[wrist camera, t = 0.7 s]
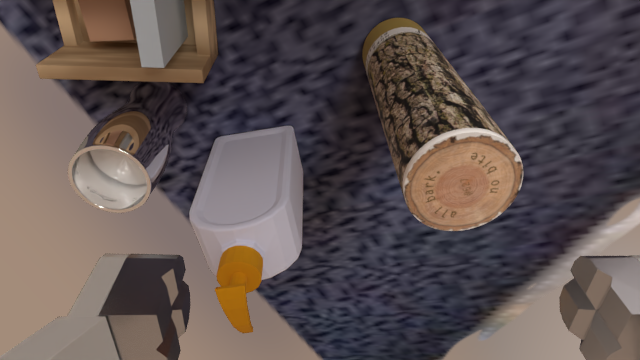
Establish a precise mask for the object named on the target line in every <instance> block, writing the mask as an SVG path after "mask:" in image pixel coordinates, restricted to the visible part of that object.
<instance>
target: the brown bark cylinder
mask: <svg viewBox="0 0 640 360" xmlns="http://www.w3.org/2000/svg"><path fill="white" fill-rule="evenodd" d="M362 56H363V62H364V66H365V69H366V73H367V77H368V80H369V83H370V86H371V90H372V93H373V96H374V100H375V103H376V106H377V110H378V113H379V116H380V120H381V123H382V126H383V130H384V133H385V136H386V139H387V143H388V146H389V149H390V153H391V156H392V159H393V163H394V166H395V169H396V173H397V176H398V179H399V183H400V186H401V189H402V192H403V196H404V199H405V201H406V204H407V206H408V208H409V210H410V211H411V213H412V214H413V215H414V216H415V217H416V218H417V219H418V220H419V221H421V222H422V223H424V224H425V225H427V226H430V227H432V228H435V229H439V230H445V231H460V230H467V229H471V228H475V227H478V226H481V225H483V224H485V223H487V222H489V221H491V220H493V219H494V218H496V217H497V216H499V215H500V214H501V213H502V212H504V211H505V210H506V209H507V208H508V207H509V206H510V204H511V203H512V202H513V201H514V199H515V198H516V196H517V194H518V192H519V190H520V188H521V184H522V180H523V165H522V161H521V159H520V156H519V155H518V153H517V151H516V150H515V148H514V146H513V145H512V144H511V143H510V141H509V140H508V139H507V137H506V136H505V135H504V133H503V132H502V131H501V130H500V128H499V127H498V126H497V124H496V123H495V122H494V120H493V119H492V118H491V117H490V115H489V114H488V113H487V111H486V110H485V109H484V107H483V106H482V105H481V104H480V102H479V101H478V100H477V98H476V97H475V96H474V94H473V93H472V92H471V91H470V89H469V88H468V87H467V85H466V84H465V83H464V81H463V80H462V79H461V78H460V76H459V75H458V74H457V72H456V71H455V70H454V68H453V67H452V66H451V65H450V63H449V62H448V61H447V59H446V58H445V57H444V55H443V54H442V53H441V52H440V50H439V49H438V48H437V46H436V45H435V44H434V42H433V41H432V40H431V39H430V37H429V36H428V35H427V34H426V32H425V31H424V30H423V29H422V27H421V26H420V25H418V24H417V23H415V22H414V21H412V20H409V19H406V18H392V19H388V20H385V21H383V22H381V23H379V24H378V25H377V26H375V27H374V28H373V29H372V30H371V32H370V33H369V34H368V36H367V38H366V40H365V42H364V46H363V52H362Z"/></svg>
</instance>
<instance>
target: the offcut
mask: <svg viewBox="0 0 640 360" xmlns="http://www.w3.org/2000/svg"><path fill="white" fill-rule="evenodd" d="M78 3H79V6H80V9H81V12H82V16H83V19H84V22H85V26H86V29H87V32H88V36H89V39H90V42H93V41H119V40H135V39H136V32H135V27H134V21H133V15H132V10H131V4H130V0H78Z"/></svg>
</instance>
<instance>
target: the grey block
mask: <svg viewBox="0 0 640 360" xmlns="http://www.w3.org/2000/svg"><path fill="white" fill-rule="evenodd" d="M130 4H131V10H132V15H133V21H134V27H135V32H136V38H137V44H138V49H139V55H140V61H141V66H142V67H153V68H164V67H165V66H166V65H167V63H168V62H169V61H170V59H171V58H172V57H173V55H174V54H175V53H176V52H177V50H178V49H179V48H180V46H181V45H182V44H183V42H184V41H185V40H186V38H187V37H188V31H187V23H186V14H185V5H184V0H130Z"/></svg>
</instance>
